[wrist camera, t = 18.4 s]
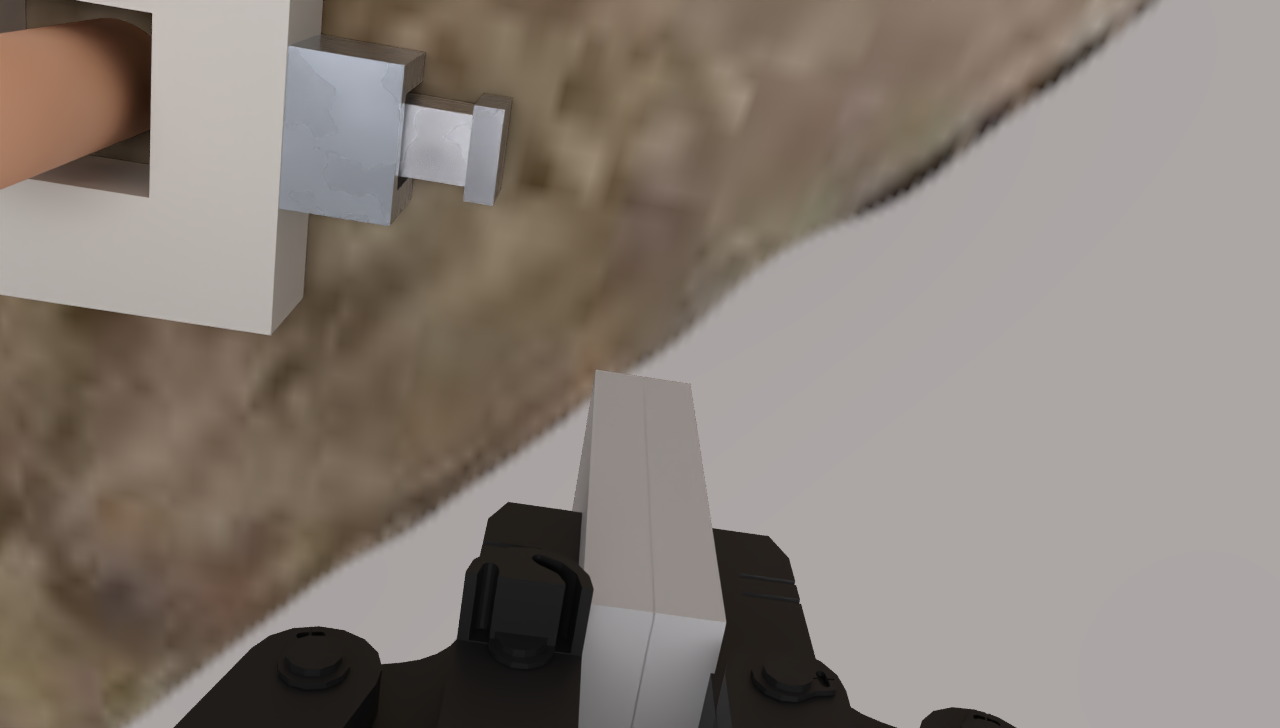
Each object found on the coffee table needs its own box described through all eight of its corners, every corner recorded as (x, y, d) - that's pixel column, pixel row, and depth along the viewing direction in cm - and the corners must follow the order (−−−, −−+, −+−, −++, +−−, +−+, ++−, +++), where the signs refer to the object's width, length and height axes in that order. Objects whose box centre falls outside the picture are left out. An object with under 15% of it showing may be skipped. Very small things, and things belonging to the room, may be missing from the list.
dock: (-85, 238, 41) (-159, 270, 38) (-110, -182, 37) (-198, -194, 33) (303, 297, 43) (270, 335, 39) (329, -103, 38) (296, -106, 34)
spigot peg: (55, 125, 40) (-167, 197, 29) (55, 7, 39) (-177, 36, 27) (170, 145, 40) (-5, 225, 29) (175, 29, 39) (-7, 66, 28)
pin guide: (310, 182, 41) (279, 208, 37) (320, 34, 39) (288, 45, 35) (411, 198, 41) (389, 226, 37) (425, 51, 39) (404, 65, 36)
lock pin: (217, 141, 40) (189, 156, 37) (220, 49, 39) (192, 57, 36) (501, 188, 41) (492, 205, 38) (512, 97, 40) (504, 110, 37)
